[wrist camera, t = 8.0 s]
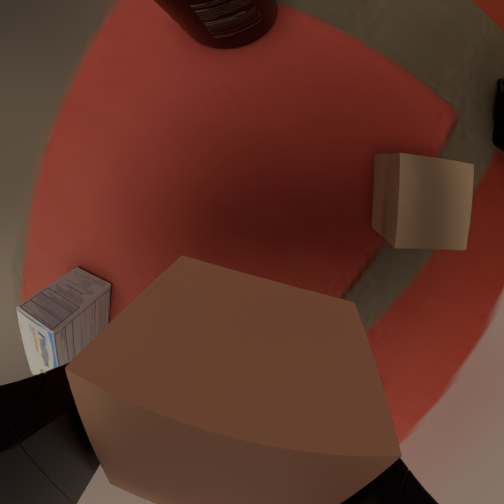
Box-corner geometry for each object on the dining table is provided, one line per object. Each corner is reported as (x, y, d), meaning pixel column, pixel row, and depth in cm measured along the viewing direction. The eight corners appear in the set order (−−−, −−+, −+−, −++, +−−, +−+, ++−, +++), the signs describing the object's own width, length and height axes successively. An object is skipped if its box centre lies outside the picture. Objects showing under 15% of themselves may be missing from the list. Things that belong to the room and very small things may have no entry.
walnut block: (435, 161, 16) (473, 164, 11) (431, 229, 18) (465, 250, 13) (373, 154, 17) (399, 152, 12) (370, 226, 18) (394, 248, 14)
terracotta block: (354, 301, 7) (401, 455, 3) (297, 412, 9) (290, 531, 4) (181, 255, 8) (64, 367, 3) (168, 377, 9) (110, 483, 5)
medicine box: (78, 264, 23) (13, 304, 15) (114, 283, 23) (51, 333, 15) (78, 327, 25) (29, 372, 17) (110, 346, 25) (64, 399, 17)
